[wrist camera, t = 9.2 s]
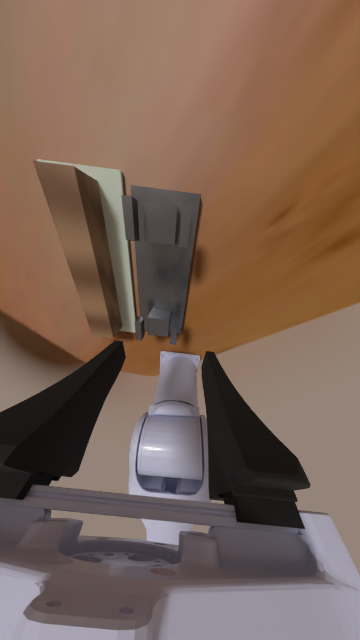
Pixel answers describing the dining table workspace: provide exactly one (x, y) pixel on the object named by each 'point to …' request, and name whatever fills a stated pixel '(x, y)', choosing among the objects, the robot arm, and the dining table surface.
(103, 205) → the mat
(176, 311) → the rack
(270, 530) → the robot arm
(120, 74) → the dining table surface
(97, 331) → the rail
